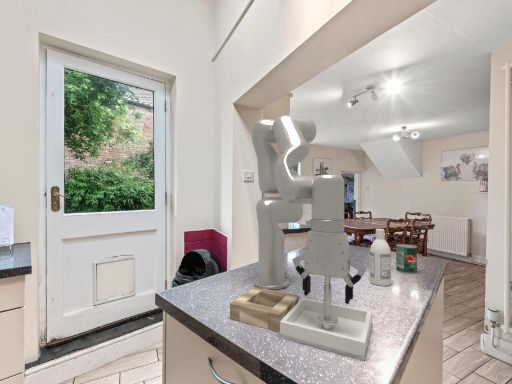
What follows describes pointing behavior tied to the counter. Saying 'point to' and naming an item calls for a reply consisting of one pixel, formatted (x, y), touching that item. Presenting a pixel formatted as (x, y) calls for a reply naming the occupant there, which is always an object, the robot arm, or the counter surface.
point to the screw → (327, 308)
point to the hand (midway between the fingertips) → (326, 297)
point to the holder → (263, 307)
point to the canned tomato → (406, 258)
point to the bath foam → (380, 260)
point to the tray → (335, 340)
